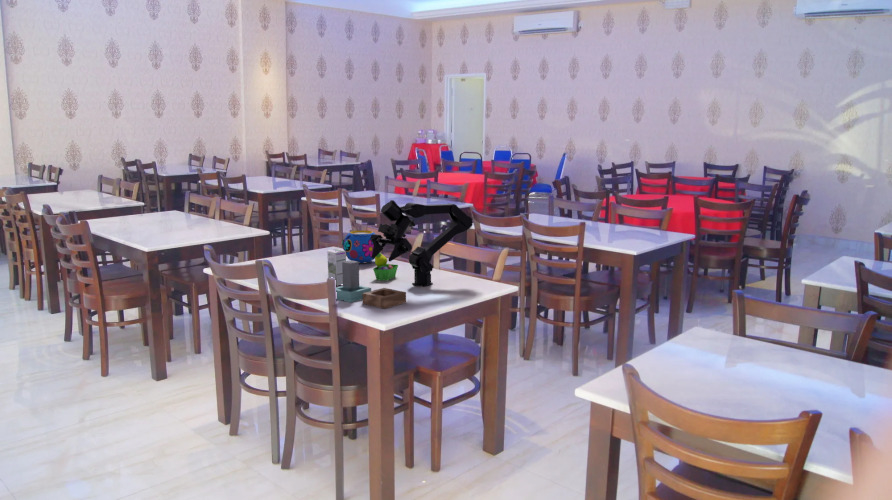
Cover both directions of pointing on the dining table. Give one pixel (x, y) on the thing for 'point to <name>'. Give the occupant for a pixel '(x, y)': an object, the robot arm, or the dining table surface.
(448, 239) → the robot arm
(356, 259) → the ceramic pot
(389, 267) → the fruit basket
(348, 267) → the square axle
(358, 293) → the cradle
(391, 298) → the bore block
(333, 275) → the syrup box
